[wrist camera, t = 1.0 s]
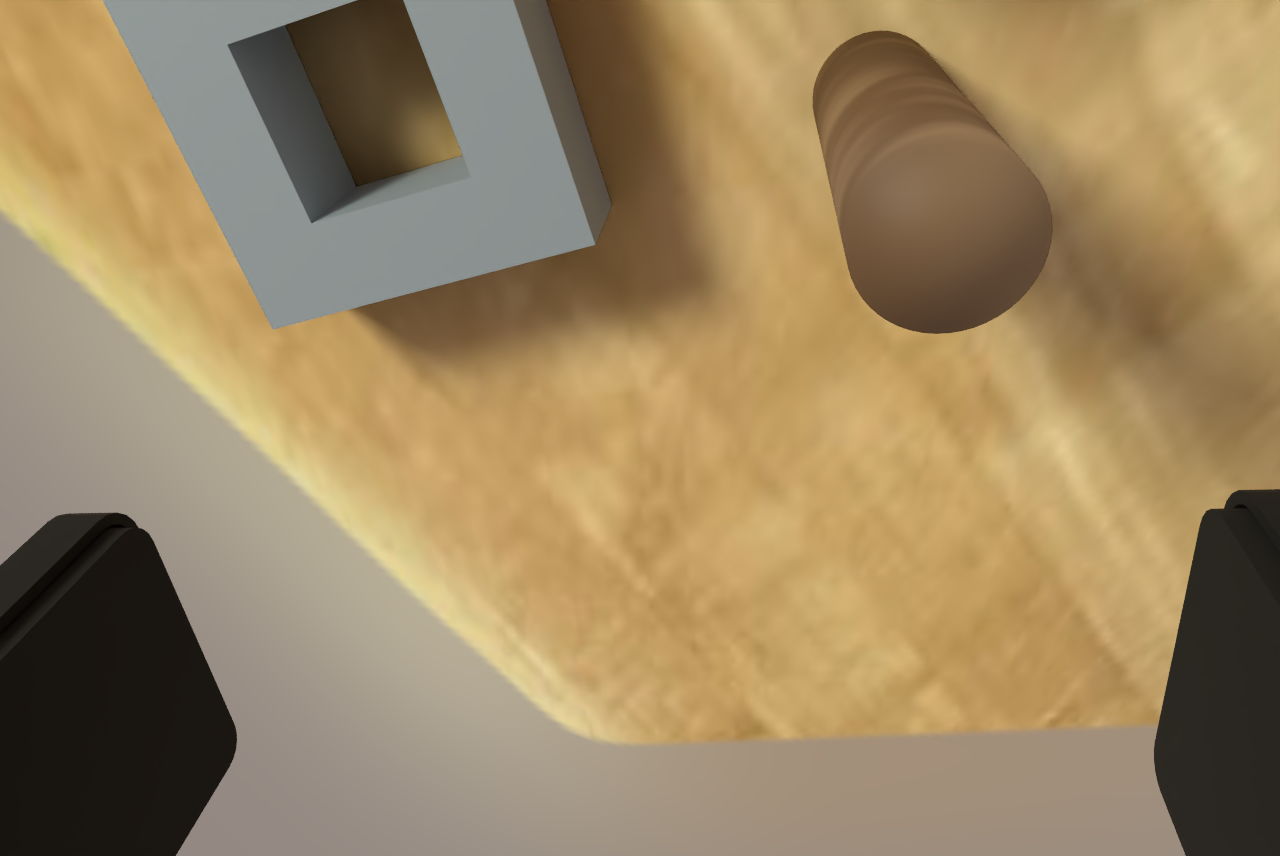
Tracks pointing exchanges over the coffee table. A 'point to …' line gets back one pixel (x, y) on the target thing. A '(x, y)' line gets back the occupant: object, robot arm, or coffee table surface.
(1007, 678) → the coffee table surface
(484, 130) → the hole block
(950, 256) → the tall dowel
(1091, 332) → the coffee table surface
